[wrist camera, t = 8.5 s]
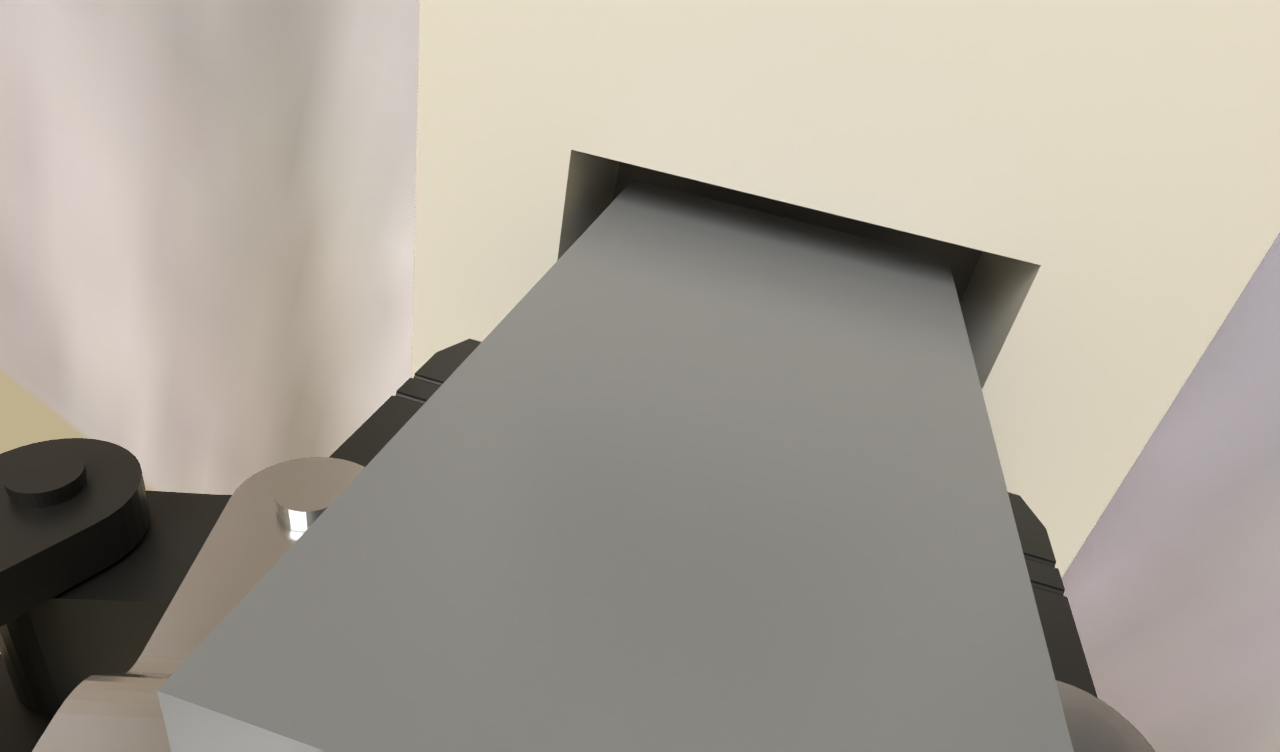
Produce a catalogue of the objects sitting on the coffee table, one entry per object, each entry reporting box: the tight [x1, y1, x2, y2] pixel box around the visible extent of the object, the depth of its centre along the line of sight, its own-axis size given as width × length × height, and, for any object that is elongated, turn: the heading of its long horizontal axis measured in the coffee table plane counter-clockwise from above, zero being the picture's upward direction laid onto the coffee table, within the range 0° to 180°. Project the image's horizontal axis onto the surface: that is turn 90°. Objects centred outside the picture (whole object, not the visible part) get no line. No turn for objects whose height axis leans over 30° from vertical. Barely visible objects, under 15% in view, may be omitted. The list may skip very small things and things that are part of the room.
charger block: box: [157, 180, 1074, 752], centre depth 8 cm, size 4×4×9 cm
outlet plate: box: [412, 0, 1280, 578], centre depth 10 cm, size 10×20×3 cm, turn 171°
